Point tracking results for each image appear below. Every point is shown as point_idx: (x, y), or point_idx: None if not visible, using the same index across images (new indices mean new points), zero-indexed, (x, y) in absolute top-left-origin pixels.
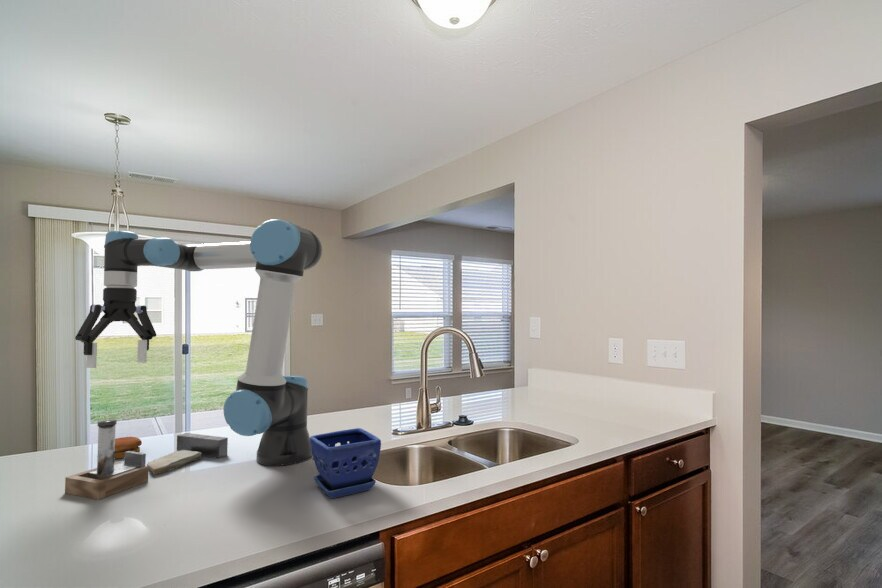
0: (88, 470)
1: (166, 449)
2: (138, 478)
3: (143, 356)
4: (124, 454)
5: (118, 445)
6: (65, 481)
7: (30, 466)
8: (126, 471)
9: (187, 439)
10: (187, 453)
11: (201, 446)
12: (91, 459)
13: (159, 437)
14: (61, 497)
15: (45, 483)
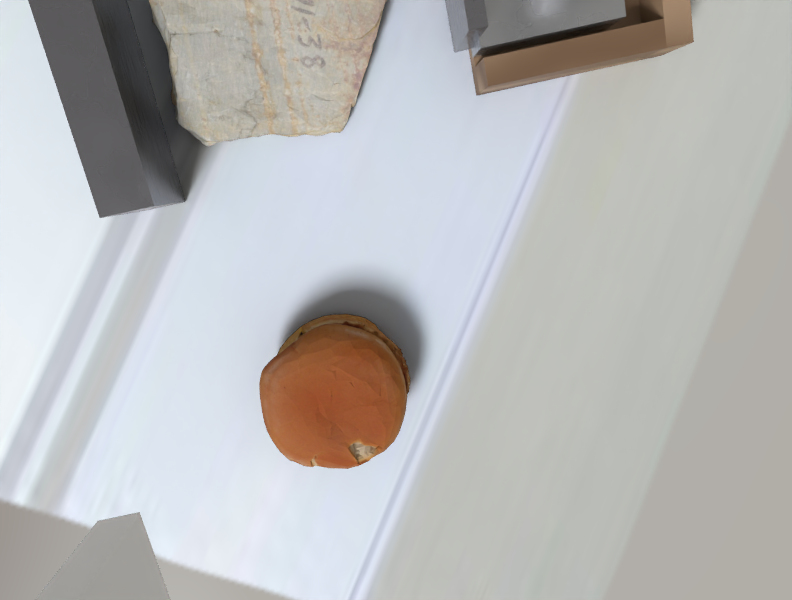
0: (607, 58)
1: (189, 295)
2: None
3: (96, 598)
4: (354, 319)
5: (370, 350)
6: (683, 45)
7: (582, 500)
8: None
9: (137, 128)
10: (201, 22)
11: (117, 29)
12: (432, 411)
13: None
14: None
15: (642, 241)
